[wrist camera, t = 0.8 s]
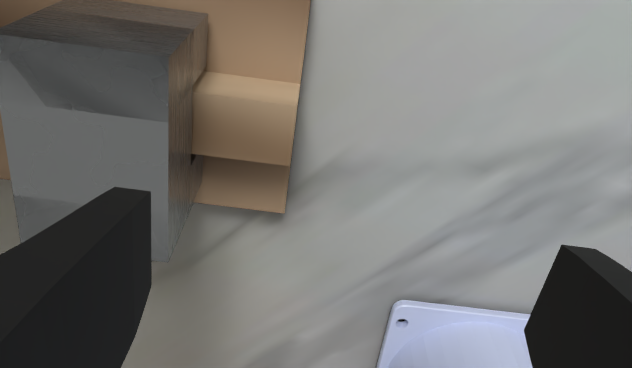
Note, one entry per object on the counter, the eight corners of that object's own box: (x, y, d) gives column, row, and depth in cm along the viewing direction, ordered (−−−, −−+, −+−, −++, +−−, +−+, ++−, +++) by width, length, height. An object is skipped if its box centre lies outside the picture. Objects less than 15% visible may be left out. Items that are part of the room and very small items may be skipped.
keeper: (202, 181, 19) (168, 262, 15) (87, 167, 19) (21, 245, 15) (208, 13, 17) (168, 56, 12) (73, -6, 16) (-12, 33, 12)
